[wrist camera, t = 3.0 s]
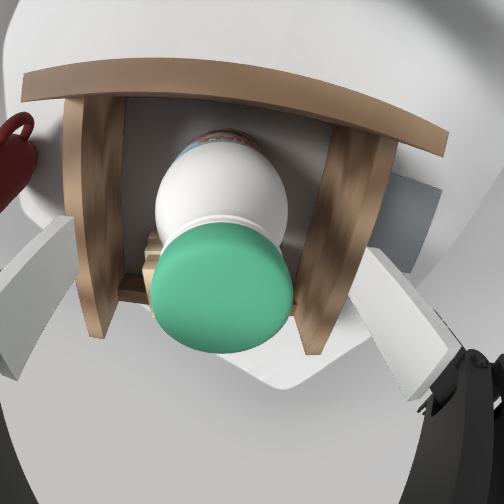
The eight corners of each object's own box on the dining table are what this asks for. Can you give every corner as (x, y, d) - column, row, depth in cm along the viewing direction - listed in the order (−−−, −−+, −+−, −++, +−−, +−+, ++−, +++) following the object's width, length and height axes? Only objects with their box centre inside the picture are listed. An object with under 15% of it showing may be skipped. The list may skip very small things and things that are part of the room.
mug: (27, 91, 18) (-36, 99, 10) (72, 123, 21) (11, 139, 13) (-4, 170, 22) (-58, 201, 13) (36, 204, 25) (-15, 245, 16)
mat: (364, 165, 27) (365, 166, 26) (440, 189, 29) (441, 190, 28) (334, 264, 32) (335, 266, 32) (408, 271, 34) (410, 272, 34)
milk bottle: (254, 210, 28) (301, 384, 11) (177, 199, 27) (115, 369, 10) (270, 134, 25) (380, 214, 7) (187, 121, 23) (92, 170, 6)
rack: (114, 81, 20) (24, 73, 8) (352, 112, 24) (449, 132, 12) (113, 283, 31) (74, 376, 19) (300, 300, 35) (333, 394, 22)
